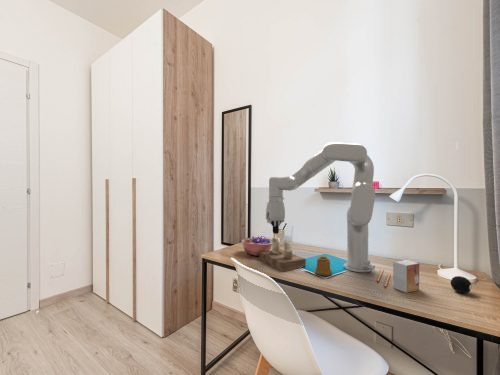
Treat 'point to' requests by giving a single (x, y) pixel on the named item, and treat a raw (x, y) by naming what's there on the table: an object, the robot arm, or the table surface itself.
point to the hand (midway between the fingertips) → (275, 233)
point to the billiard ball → (461, 284)
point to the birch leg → (275, 246)
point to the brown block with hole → (283, 258)
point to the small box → (406, 275)
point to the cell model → (256, 245)
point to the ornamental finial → (323, 266)
